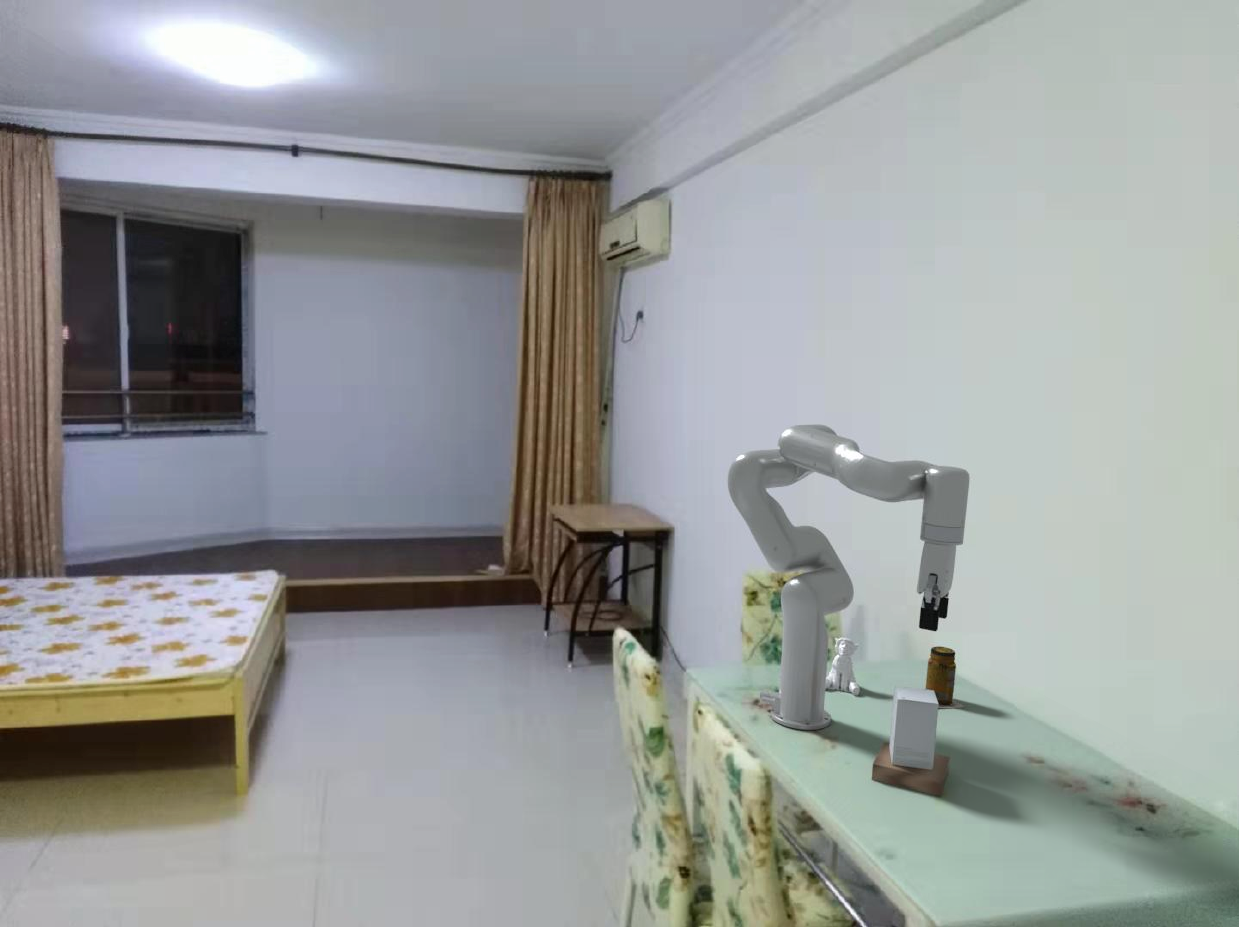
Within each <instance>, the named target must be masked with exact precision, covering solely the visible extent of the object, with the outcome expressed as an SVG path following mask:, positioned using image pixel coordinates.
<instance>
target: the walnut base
mask: <svg viewBox="0 0 1239 927" xmlns="http://www.w3.org/2000/svg"><path fill="white" fill-rule="evenodd" d="M889 746H890V742H883V744H882V745H881V747H880V750H879V751H878V753H877V755H876V757H875V759H874V761H873V763H872V771H871V772H872V773H871V780H872V781H876V782H880V783H884V784H888V785H893V786H897V787H899V788H900V787H901V788H906V789H910V790H913V791H918V792H921V793H926V794H929V795H934V796H938V797H941V796H942V792H943V790H944V786H945V783H946V780H947V777H948V773H949V767H950V766H949V765H950V756H948V755H942V754H938V753H935V752H934V763H933V770H926V769H920V768H913V767H906V766H899V765H893V764H892V761H891V756H890V750H889Z"/></svg>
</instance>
